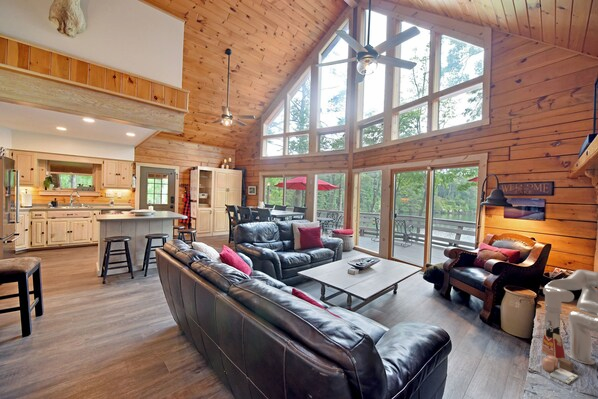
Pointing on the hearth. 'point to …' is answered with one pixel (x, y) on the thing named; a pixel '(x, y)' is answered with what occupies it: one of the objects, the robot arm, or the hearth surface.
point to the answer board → (563, 375)
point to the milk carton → (553, 346)
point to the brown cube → (566, 364)
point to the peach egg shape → (554, 361)
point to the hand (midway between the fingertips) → (552, 335)
